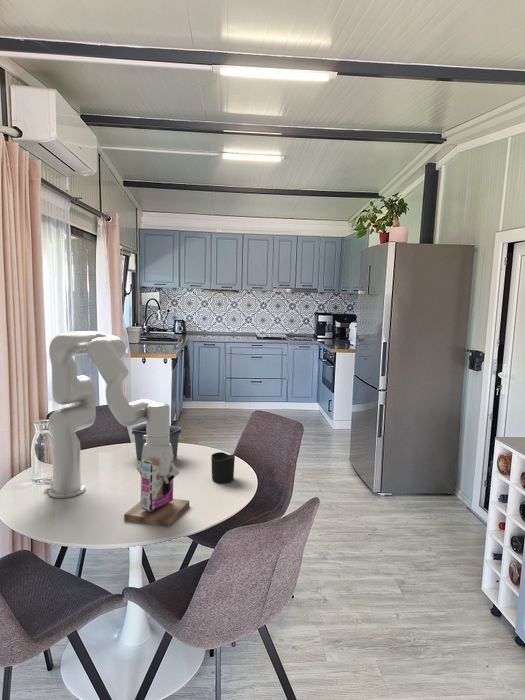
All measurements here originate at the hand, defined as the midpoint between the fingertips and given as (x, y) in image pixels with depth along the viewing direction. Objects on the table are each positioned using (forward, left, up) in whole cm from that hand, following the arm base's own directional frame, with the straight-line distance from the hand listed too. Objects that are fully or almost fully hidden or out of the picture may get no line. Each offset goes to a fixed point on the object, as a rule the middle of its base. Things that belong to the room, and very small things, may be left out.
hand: (157, 491), depth 156 cm
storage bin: (-26, +51, -8) cm, 58 cm away
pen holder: (+11, +35, -8) cm, 38 cm away
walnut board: (0, 0, -7) cm, 7 cm away
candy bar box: (0, 0, -5) cm, 5 cm away
